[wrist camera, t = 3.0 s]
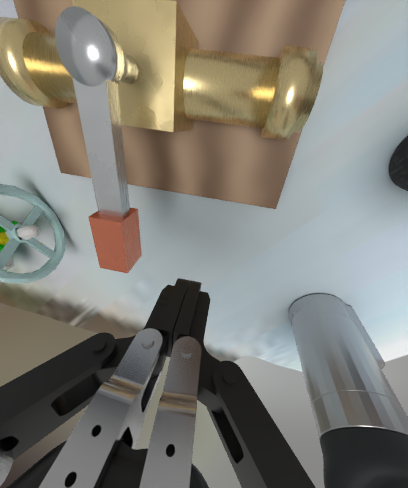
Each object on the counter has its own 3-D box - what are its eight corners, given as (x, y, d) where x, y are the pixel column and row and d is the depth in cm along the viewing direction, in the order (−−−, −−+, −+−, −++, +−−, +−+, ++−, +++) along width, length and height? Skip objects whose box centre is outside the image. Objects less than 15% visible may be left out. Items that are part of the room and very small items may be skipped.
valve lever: (127, 27, 11) (95, 1, 9) (143, 255, 20) (129, 273, 17) (77, 22, 11) (34, -5, 9) (115, 250, 20) (98, 267, 18)
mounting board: (365, -76, 14) (376, -95, 13) (274, 204, 26) (275, 208, 25) (2, -94, 17) (-17, -111, 16) (68, 170, 29) (60, 172, 28)
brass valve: (312, 57, 18) (389, -15, 9) (286, 142, 22) (319, 157, 12) (35, 28, 20) (-145, -54, 11) (55, 109, 24) (-66, 101, 15)
